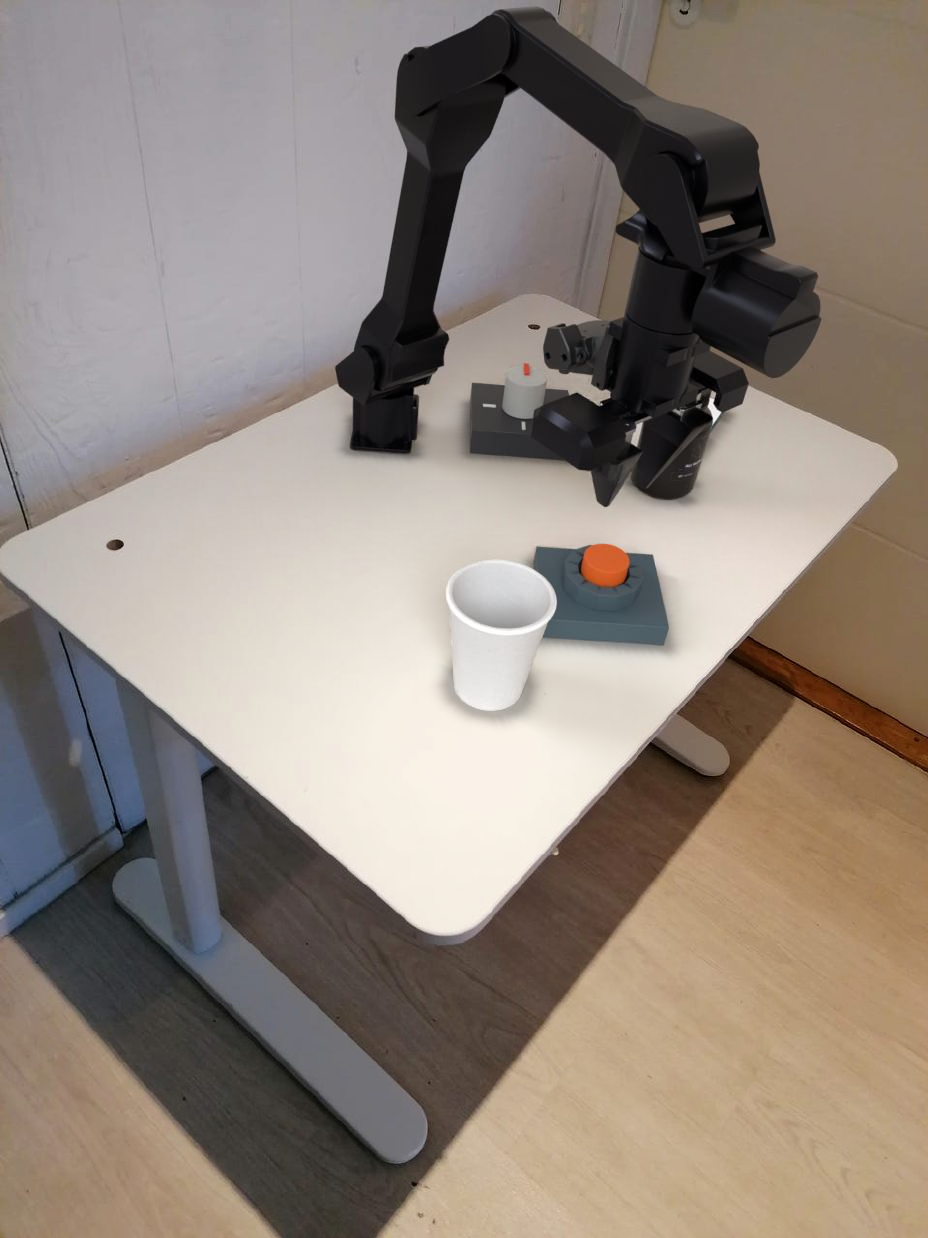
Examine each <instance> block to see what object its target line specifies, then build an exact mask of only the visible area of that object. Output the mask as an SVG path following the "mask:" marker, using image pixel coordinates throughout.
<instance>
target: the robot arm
mask: <svg viewBox="0 0 928 1238" xmlns="http://www.w3.org/2000/svg"><path fill="white" fill-rule="evenodd" d="M395 83H396V85H395V101H394V121H395V123H396V126H397V129H398V131H399V134H400V137H401V138H402V141H403V144H404V146H405V149H406V157H405V158H406V159H405V165H404V171H403V175H402V182H401V188H400V194H399V198H398V205H397V210H396V215H395V221H394V227H393V233H392V240H391V245H390V251H389V257H388V262H387V267H386V274H385V279H384V284H383V290H382V295H381V298H380V299H379V300H378V302H377V303H376V304H375V305H374V307H373V308H372V309H371V310H370V311H369V313H368V314H367V315H366V316H365V318H364V319H363V320H362V321H361V324H360V327H359V330H358V332H357V333H358V334H357V337H356V340H355V343H354V347H353V351H352V352H351V353H350V354H348V355H347V356H346V357H344V358H343V359H342V360H341V361H340V362H339V363H337V364H335V366H334V371H335V375H336V380H337V386H338V387H339V388H340V389H341V390H342V391H344V392H345V393H347V395H349V396H350V397H352V422H351V423H352V424H351V425H352V427H351V428H352V429H351V434H350V435H351V436H350V441H349V448H350V450H353V451H363V452H375V453H377V452H378V453H391V454H405V455H408V454H411V453H412V449H413V448H412V447H413V441H416V440H417V438H418V425H419V410H420V409H419V407H420V396H419V394H416V393H415V388H418V387H421V386H427V385H430V382H431V380H432V378H433V375H435V374H436V372H438V370H439V368H443V367H445V353H446V349H447V347H448V344H449V341H450V336H449V333H448V332H446V331H445V330H444V329H442V327H441V324H440V322H439V320H438V318H437V316H436V312H435V309H434V307H435V304H436V303H435V302H436V298H437V294H438V290H439V286H440V281H441V276H442V272H443V266H444V263H445V258H446V253H447V249H448V244H449V240H450V236H451V231H452V227H453V223H454V219H455V214H456V209H457V205H458V200H459V196H460V191H461V188H462V183H463V178H464V174H465V170H466V168H467V166H468V164H469V163H470V162H471V161H472V160H473V158H474V157H475V156H476V154H478V152H479V151H480V149H482V147H483V146H484V144H485V143H486V142H487V140H489V139H490V137H491V135H492V133H493V130H494V128H495V125H496V122H497V119H498V117H499V114H500V112H501V109H502V107H503V105H504V102H505V99H506V98H507V97H509V96H510V95H512V94H514V93H515V92H517V91H518V90H519V91H520V90H522V91H524V92H525V93H526V94H527V95H529V96H530V98H533V99H534V100H535V101H536V102H538V103H539V104H540V105H542V106H543V107H544V108H545V109H547V110H548V111H549V112H551V114H553V115H555V116H556V117H557V118H558V119H560V120H561V121H562V122H563V123H565V124H566V125H567V126H568V127H569V128H571V129H572V130H574V131H575V132H576V133H577V134H579V135H580V136H581V137H582V138H584V139H585V140H586V141H588V142H589V143H590V144H592V145H593V146H594V147H595V148H597V149H598V150H599V151H601V152H602V153H603V154H604V155H605V156H606V157H607V158H608V159H609V161H610V162H611V163H612V164H613V166H614V167H615V171H616V174H617V175H616V176H617V179H618V182H619V185H620V187H621V189H622V191H623V192H624V194H625V195H626V196H627V197H628V198H629V199H630V201H632V202H633V203H634V205H635V206H636V207H637V208H638V211H636V212H635V213H634V214H633V215H631V216H630V217H628V218H626V219H625V220H623V221H621V222H619V223H617V224H616V225H615V229H614V230H615V234H616V235H618V236H620V237H621V238H623V239H625V240H627V241H630V242H632V243H634V244H636V245H637V246H638V247H637V252H636V257H635V261H634V266H633V271H632V277H631V280H630V285H629V291H628V295H627V300H626V305H625V309H624V314H623V317H620V318H617V319H614V320H602V319H597V320H595V319H594V320H588V321H585V322H581V323H578V324H576V323H572V324H569V325H567V324H566V323H564V322H562V323H559V324H555V325H552V326H548V327H547V328H546V334H545V336H544V341H543V345H542V353H543V354H542V355H543V363H544V365H546V367H547V368H548V369H550V370H556V371H558V373H559V374H561V375H569V374H570V373H571V374H578V375H587V376H591V382H590V385H591V386H592V387H594V388H596V389H598V390H599V391H601V392H603V391H608V392H610V393H609V397H608V398H606V399H603V400H601V401H599V404H597V403H595V402H593V401H592V400H590V399H589V398H587V397H586V396H584V395H583V394H581V393H579V392H578V391H576V392H573V393H571V394H569V395H568V396H566V397H563V398H560V399H558V400H555V401H552V402H550V403H547V404H544V405H543V406H541V407H539V408H537V409H535V410H534V415H533V421H532V428H531V438H533V439H534V440H536V441H537V442H538V443H540V444H541V445H543V446H544V447H546V448H547V449H549V450H550V451H552V452H553V453H555V454H556V455H557V456H559V457H560V458H562V459H563V460H562V461H564V460H565V462H566V463H567V464H569V465H571V466H572V467H573V468H575V469H576V470H578V471H583V472H590V475H591V480H592V484H593V489H594V495H595V500H596V502H597V504H599V505H601V506H602V507H603V508H608V507H610V506H611V504H612V503H613V501H614V500H615V498H617V496H618V494H619V492H620V491H621V489H622V487H623V485H624V484H625V483H626V481H627V479H628V478H629V476H630V475H631V471H632V469H633V468H634V466H635V464H636V463H637V469H636V484H637V485H638V486H640V487H641V488H643V489H646V488H648V487H649V486H650V485H651V484H652V483H653V481H654V480H655V479H656V478H657V477H658V476H659V475H660V474H661V473H662V472H663V471H664V469H665V468H666V467H667V466H668V465H669V464H670V463H671V462H672V461H673V460H674V459H675V458H676V457H677V456H678V454H679V453H680V452H681V451H682V450H683V449H684V448H685V447H686V446H687V445H688V444H689V443H690V442H691V441H692V440H693V439H694V438H695V437H696V436H697V435H698V434H699V433H700V432H701V431H702V430H703V429H704V428H705V427H706V426H708V425H710V424H711V423H712V421H713V417H712V416H711V415H710V414H708V413H706V412H705V411H703V410H701V405H702V402H701V401H699V400H700V397H701V393H702V391H705V390H707V389H710V390H712V392H714V393H715V395H714V402H713V404H714V406H715V407H716V409H717V410H718V411H720V412H722V413H723V412H724V413H726V412H727V411H730V410H732V409H734V408H737V407H739V406H741V405H743V403H744V401H745V398H746V394H747V391H748V388H749V384H750V383H749V380H748V377H747V375H746V371H745V370H744V368H743V367H741V366H740V365H738V364H736V363H734V362H732V361H730V360H728V359H727V358H725V357H724V356H721V355H719V354H717V353H715V352H714V351H712V350H711V348H714V349H715V350H717V351H719V352H721V353H723V354H725V355H726V356H728V357H730V358H732V359H734V360H736V361H738V362H740V363H741V364H744V365H745V366H747V367H749V368H751V369H752V370H754V371H756V372H759V373H760V374H762V375H764V376H765V377H768V378H771V379H778V378H781V377H784V375H785V374H788V372H790V371H792V369H793V368H794V367H796V366H797V364H798V363H799V362H800V361H801V359H802V358H803V357H804V356H805V354H806V353H807V351H808V350H809V348H810V347H811V345H812V343H813V341H814V340H815V338H816V335H817V333H818V331H819V329H820V326H821V322H822V317H821V316H820V314H821V309H822V308H821V307H822V306H821V299H820V296H819V294H818V293H816V292H815V287H816V285H817V281H818V279H819V274H818V272H817V271H815V270H813V269H811V268H808V267H806V266H804V265H799V264H792V263H790V262H787V261H785V260H782V259H781V258H778V257H776V256H774V255H771V254H769V253H767V252H765V251H763V250H765V249H769V248H772V247H774V246H775V244H776V242H777V240H776V239H777V238H776V235H775V230H774V226H773V222H772V219H771V214H770V209H769V206H768V201H767V197H766V193H765V189H764V185H763V180H762V177H761V173H760V167H761V162H760V157H759V148H760V145H759V142H758V141H757V139H756V137H755V136H754V134H753V132H751V131H750V129H749V128H748V127H747V126H745V125H743V124H741V123H740V122H737V121H735V120H733V119H730V118H728V117H725V116H724V115H721V114H718V113H716V112H713V111H711V110H708V109H706V108H702V107H698V106H693V105H689V104H684V103H679V102H674V101H671V100H669V99H666V98H663V97H662V96H659V95H657V94H656V93H654V92H653V91H652V90H651V89H649V88H648V87H646V86H645V85H643V83H641V82H640V81H638V80H637V79H635V78H634V77H632V76H631V75H630V74H628V73H627V72H626V71H624V70H623V69H621V67H619V66H617V65H616V64H615V63H613V62H612V61H611V60H610V59H608V58H606V57H605V56H603V54H601V53H599V52H598V51H597V50H595V49H594V48H593V47H591V46H590V45H589V44H587V43H585V42H584V41H583V40H581V38H579V37H577V36H576V35H575V34H573V33H572V32H570V31H569V30H568V29H566V27H564V26H562V25H561V24H559V23H558V22H557V19H556V17H555V16H554V15H553V14H552V12H551V11H549V10H546V9H545V8H543V7H541V6H537V5H536V6H524V7H522V6H521V7H511V8H501V9H496V10H494V11H492V12H491V13H490V14H488V15H486V16H485V17H483V18H482V19H481V20H479V21H478V22H477V23H475V24H474V25H472V26H471V27H469V28H466V29H464V30H462V31H460V32H458V33H457V32H456V33H455V34H453V35H451V36H449V37H446V38H444V39H442V40H440V41H438V42H435V43H434V44H431V45H423V46H414V47H413V48H412V49H410V50H409V51H408V52H407V53H404V54H403V55H402V58H401V59H400V62H399V65H398V68H397V73H396V81H395ZM726 216H730V218H731V219H732V221H733V222H734V223H732V224H729V225H724V226H721V227H718V228H715V229H711V230H707V231H704V232H702V229H701V226H700V224H701V223H705V222H709V221H713V220H717V219H720V218H723V217H726ZM642 422H644V426H643V432H642V438H641V444H640V449H639V448H638V447H636V446H635V445H633V444H631V441H632V436H633V433H634V432H635V431H636V425H637V424H639V423H642ZM637 461H638V462H637Z"/></svg>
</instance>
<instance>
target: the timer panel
mask: <svg viewBox="0 0 928 1238" xmlns="http://www.w3.org/2000/svg"><path fill="white" fill-rule="evenodd" d="M504 388H505V384H498V383H497V384H496V383H495V384H494V383H483V382H471V388H470V396H469V454H474V455H485V456H486V455H487V456H499V457H501V456H502V457H512V458H524V459H525V458H526V459H541V460H550V461H551V460H553V461H565V460H563V459H562V458H560V457H559V456H557V455H556V454H555V453H553V452H552V451H550V450H549V449H547V448H546V447H544V446H543V445H541V444H540V443H538V442H537V441H536V440H534V439H533V438H531V428H532V421H533V418H531V419H520V418H515V417H512V416H510V415H508V414H507V413H506V412H505V411H504V410H503V408H502V403H503V396H504ZM568 395H570V393H569V390H568V389H559V388H547V387H546V390H545V396H544V402H543V405H544V404H547V403H550V402H552V401H555V400H558V399H560V398H563V397H566V396H568ZM565 462H566V461H565Z"/></svg>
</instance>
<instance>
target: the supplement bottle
mask: <svg viewBox="0 0 928 1238" xmlns="http://www.w3.org/2000/svg"><path fill="white" fill-rule="evenodd" d="M712 392H713V391H712V390H710V389H707V390H705V391H702V393H701V397H700V400H699V401H701V402H702V405H701V410H703V411H705V412H706V413H708V414H710V415H711V416H712V413H711V411H710V409H709V408H708V405H709V401H710V397H711V395H712ZM712 424H713V421H712V423H711V424H710V425H708V426H706V427H705V428H704V429H703V430H702V431H701V432H700V433H699V434H698V435H697V436H696V437H695V438H694V439H693V440H692V441H691V442H690V443H689V444H688V445H687V446H686V447H685V448H684V449H683V450H682V451H681V452H680V453H679V454H678V456H677V457H676V458H675V459H674V460H673V461H672V462H671V463H670V464H669V465H668V466H667V467H666V468H665V469H664V471H663V472H662V473H661V474H660V475H659V476H658V477H657V478H656V479H655V480H654V481H653V483H652V484H651V485H650V486H649V487H648V488H646V489H643V488H641V487H640V486H638V485H637V484H636V469H637V463H636V464H635V466H634V468H633V469H632V471H631V472H630V478H631V481H632V483H633V485H634V486H635V488H636V489H637V490H638V491H640V492H641V493H642V494H644V495H646V496H649V497H651V498H654V499H656V500H657V499H658V500H663V501H664V500H665V501H674V500H678V499H682V498H685V497H686V496H688V495H689V494H690V493H691V492H692V490H694V487H695V485H696V482H697V478H698V475H699V472H700V468H701V465H702V461H703V458H704V455H705V452H706V448H707V446H708V441H709V438H710V435H711V433H712V432H711V428H712ZM643 426H644V422H643V423H642V427H641V432H640V436H639V440H638V444H637V447H638V448H639V449H640V444H641V438H642V432H643ZM710 432H711V433H710ZM637 462H638V461H637Z"/></svg>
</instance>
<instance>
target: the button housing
mask: <svg viewBox="0 0 928 1238" xmlns="http://www.w3.org/2000/svg"><path fill="white" fill-rule="evenodd" d="M592 545H593V544H589V545H585V546H582V547H577V548H568V547H567V548H566V547H565V548H564V547H554V546H553V547H552V546H537V545H536V546H535V553H534V557H533V563H532V565H533V569H534V570H535V571H537V572H538V573H540V574H541V575H542V576H544V577H545V578H546V579H547V580H548V582H549V583H550V584H551V586H552V587H553V589H554V591H555V594H556V599H557V605H556V610H555V612H554V615H553V616H552V618H551V619H550V620H549V621H548V623H547V626H546V629H545V632H544V634H543V637H542V638H544V639H545V638H546V639H560V640H577V641H591V642H606V643H621V644H622V643H623V644H637V645H639V644H640V645H652V646H665V642H666V639H667V636H668V633H669V629H670V625H669V620H668V616H667V612H666V611H667V610H666V606H665V603H664V598H663V594H662V590H661V584H660V580H659V575H658V571H657V567H656V562H655V557H654V554H652V553H639V552H638V553H637V552H625V553H626V554H627V555H628V557H629V560H630V563H629V567H628V571H627V575H626V578H625V581H624V582H623V583H622V584H620V585H619V586H616V587H603V586H598V585H596V584H593V583H591V582H589V581H587V580H586V579H585V578H584V577H583V575H582V573H581V566H582V561H583V557H584V553H585V551H586V549H587V548H588V547H590V546H592Z"/></svg>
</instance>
